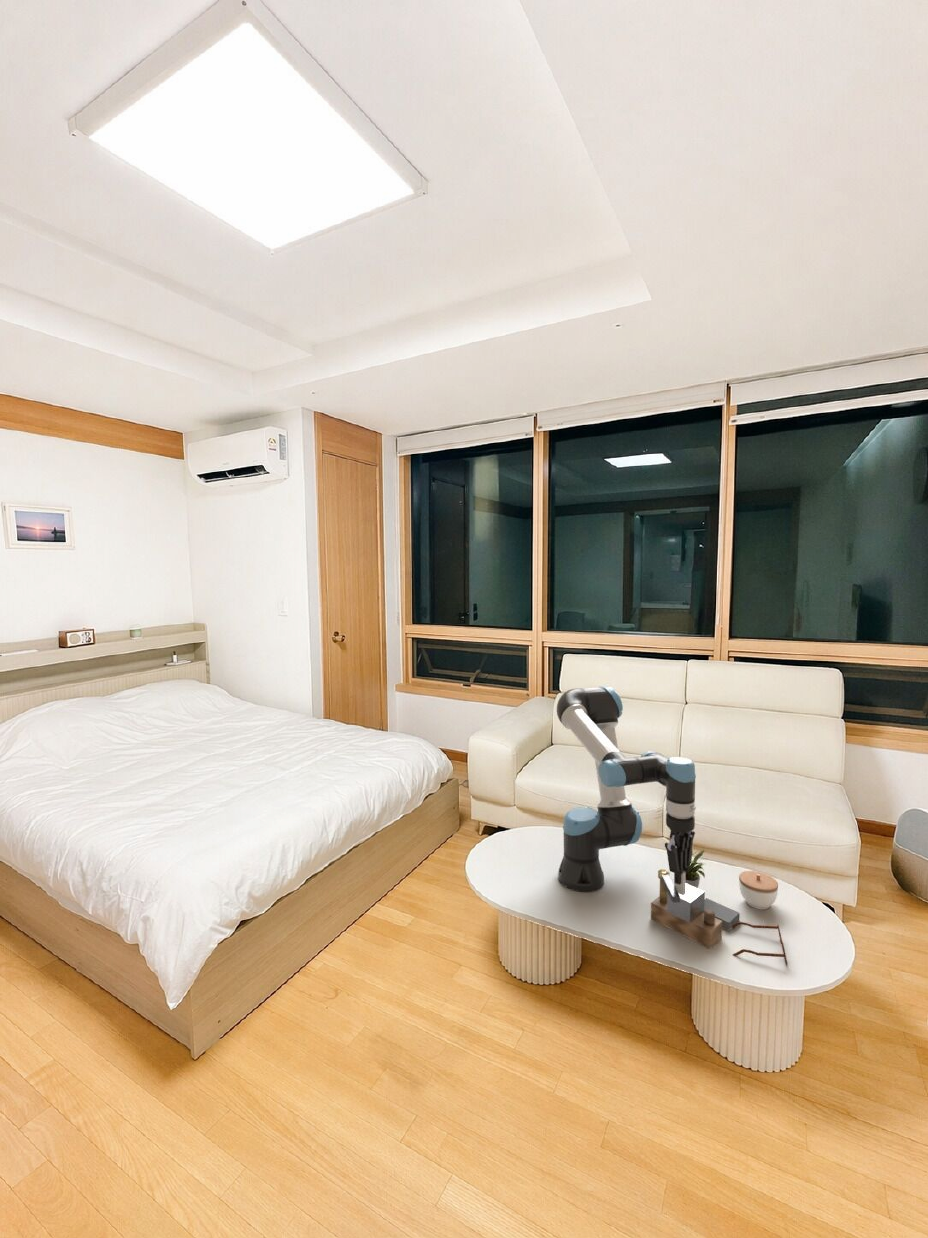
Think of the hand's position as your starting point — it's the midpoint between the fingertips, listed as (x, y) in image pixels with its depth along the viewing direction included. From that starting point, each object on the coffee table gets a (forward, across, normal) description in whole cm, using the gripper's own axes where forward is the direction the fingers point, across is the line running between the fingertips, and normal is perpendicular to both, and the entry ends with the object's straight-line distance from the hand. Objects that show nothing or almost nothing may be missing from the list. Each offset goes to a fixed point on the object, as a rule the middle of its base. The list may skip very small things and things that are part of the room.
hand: (679, 892), depth 158 cm
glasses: (+13, +10, -17) cm, 24 cm away
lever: (0, 0, +3) cm, 3 cm away
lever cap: (+7, +3, 0) cm, 8 cm away
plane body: (+12, +3, 0) cm, 13 cm away
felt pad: (+13, +15, -4) cm, 20 cm away
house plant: (+13, +19, +9) cm, 25 cm away
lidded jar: (+13, +31, -9) cm, 35 cm away
